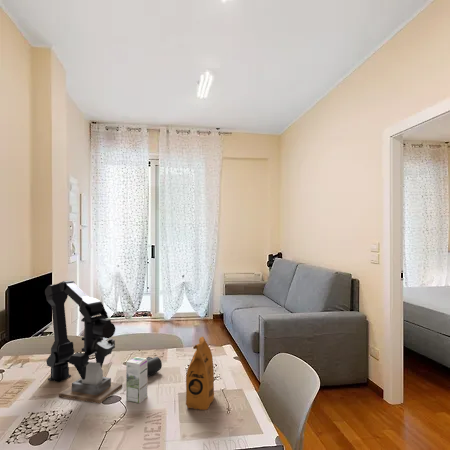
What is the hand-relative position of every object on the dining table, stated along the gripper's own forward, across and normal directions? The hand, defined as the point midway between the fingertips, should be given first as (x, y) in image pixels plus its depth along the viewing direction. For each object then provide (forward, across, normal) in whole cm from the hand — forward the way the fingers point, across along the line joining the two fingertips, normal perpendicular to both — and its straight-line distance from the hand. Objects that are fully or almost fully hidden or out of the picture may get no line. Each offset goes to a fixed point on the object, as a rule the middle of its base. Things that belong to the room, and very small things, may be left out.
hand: (91, 374), depth 133 cm
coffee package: (+7, +5, -43) cm, 44 cm away
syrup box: (+7, 0, -20) cm, 21 cm away
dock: (+6, 0, 0) cm, 6 cm away
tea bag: (+6, 0, 0) cm, 6 cm away
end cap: (+7, +20, -13) cm, 25 cm away
